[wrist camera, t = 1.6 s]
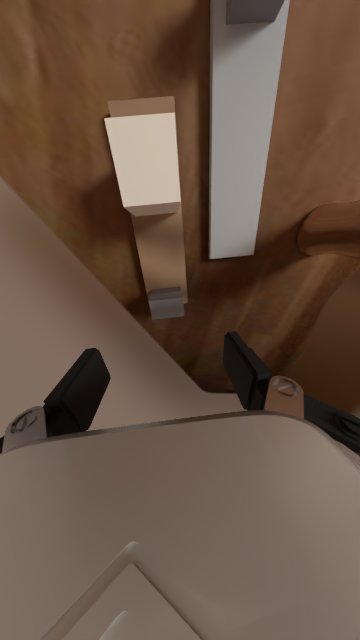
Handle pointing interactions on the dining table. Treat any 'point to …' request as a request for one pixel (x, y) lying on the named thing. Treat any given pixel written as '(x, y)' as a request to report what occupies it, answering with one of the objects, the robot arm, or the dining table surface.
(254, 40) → the grey strip
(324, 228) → the beer glass
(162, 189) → the cream block
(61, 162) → the dining table surface
